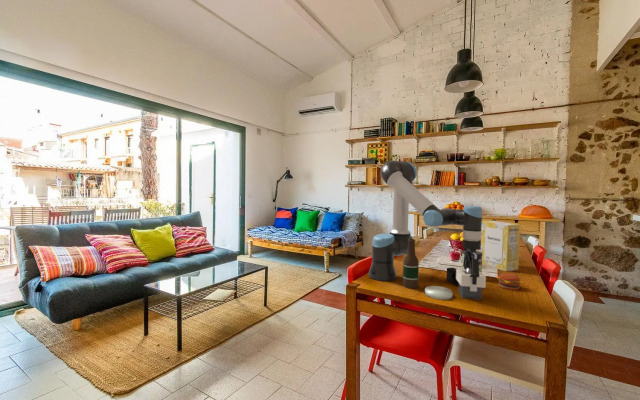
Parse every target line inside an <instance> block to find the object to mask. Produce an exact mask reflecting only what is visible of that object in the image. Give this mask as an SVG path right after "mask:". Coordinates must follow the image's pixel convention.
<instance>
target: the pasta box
mask: <svg viewBox="0 0 640 400" xmlns="http://www.w3.org/2000/svg"><path fill="white" fill-rule="evenodd" d="M481 233H482V235H481V240H480V241H481V248H480V252H482V253H483V254H482V265H483V264H484V266H487V267H490V266H491V267H490V268H493V267H494V268H493V269H498V270H500V271H504V272H511V271H512V272H513V271H518V270H519V259H520V241H521V240H520V239H521V224H520V223H512V222H506V221H505V222H504V221H497V220H486V221H485V220H482V226H481Z"/></svg>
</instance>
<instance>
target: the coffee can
mask: <svg viewBox="0 0 640 400" xmlns="http://www.w3.org/2000/svg"><path fill="white" fill-rule="evenodd" d="M464 253H465V250H464V249H463V250H462V251H461V255H462V256H461V269H464V267H463V261H464ZM476 253H477V254H478V255H479V271H480V272H481V273H482V274H483V272H482V269H483V264H482V254H483V253H482V252H481V251H480V250H476Z"/></svg>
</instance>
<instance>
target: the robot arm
mask: <svg viewBox="0 0 640 400" xmlns="http://www.w3.org/2000/svg"><path fill="white" fill-rule="evenodd" d="M417 176H418V173H417V167H416V166H415V165H414V164H413V163H412V162H410V161H404V160H402V161H401V160H388V161H386V162H384V163H383V164H382V166H381V168H380V177H381V179H382V180H383V182H384V183H385V184H386V185H387V186H388V187H392V188H393V209H392V211H393V212H392V229H391V230H390V231H389V233H380V234H378V233H377V234H376V235H375V236H373V238H372V242H371V243H372V244H371V245H372V247H371V249H372V251H371V252H372V254H371V255H372V260H371V265H370V268H369V271H368V277H369V278H371V279H373V280H376V281H381V282H383V281H385V282H389V281H395V280H396V279H397V270H396V267H395V263H394V257H397V256H406V255H407V252H408V239H414V238H413V236H412V235H411V233H412V232H411V231H410V230H409V207H410V205H411V207H413V208H414V209H415V210H416V211H417V212H418V213H419V214H420V215H421V216H422V220H423V222H424V224H425V225H426V226H428V227H441V226H449V225H450V226H451V225H455V226H462V247H463V250H465V253H464V261H463V267H464V269H466V268H467V267H470V269H471V275H470V291H476V292H477V277H479V255H478V254H477V253H476V251H478V250H481V235H482V233H481V230H482V221H483V209H482V207H481V206H478V205H477V206H476V205H465V206H464V207H463V209H455V208H450V207H449V208H441V209H440V208H438V207H437V206H436V205H435V204H434V203H433V202H431V200H430V199H428V197H426V196H425V195H424V194H423V193H422V192H421V191H420V190H419V189H418V188H417V187H415V186H414V185H413V181H415V179H417Z"/></svg>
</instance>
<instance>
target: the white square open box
mask: <svg viewBox="0 0 640 400" xmlns="http://www.w3.org/2000/svg"><path fill="white" fill-rule="evenodd" d="M470 275H471V274H466V269H462V268H456V280H457V281H458V282H459V284H460V285H461V286H469V287H470ZM486 281H487V277H486V275H485V274H484V273H483V272H482V273H481V272H480V271H479V277H477V287H482V289H483V288H484V289H486V286H487V285H486V283H487V282H486Z"/></svg>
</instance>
